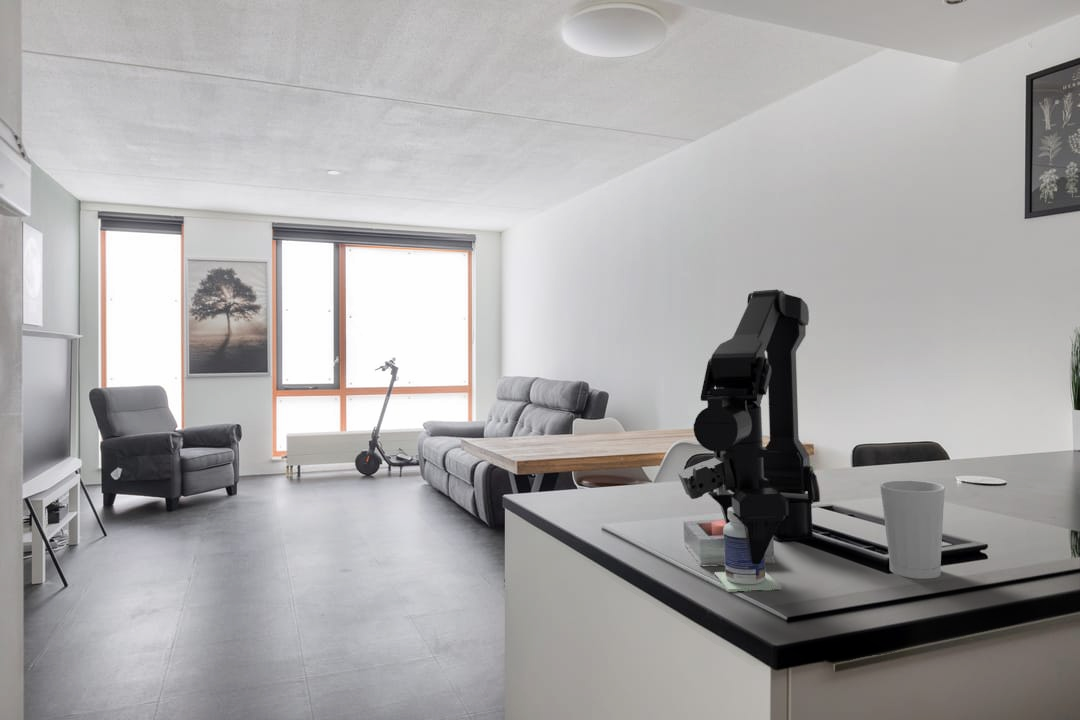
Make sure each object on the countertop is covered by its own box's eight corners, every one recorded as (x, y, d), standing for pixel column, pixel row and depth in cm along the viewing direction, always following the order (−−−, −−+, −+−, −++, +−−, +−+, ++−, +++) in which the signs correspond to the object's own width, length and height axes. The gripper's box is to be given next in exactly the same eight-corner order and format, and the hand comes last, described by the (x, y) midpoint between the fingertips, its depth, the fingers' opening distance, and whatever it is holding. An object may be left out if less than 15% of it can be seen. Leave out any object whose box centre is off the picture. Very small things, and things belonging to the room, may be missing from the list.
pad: (763, 572, 100) (763, 569, 100) (780, 589, 93) (780, 586, 93) (714, 575, 100) (714, 572, 100) (728, 592, 93) (728, 589, 93)
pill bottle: (768, 586, 94) (765, 513, 93) (726, 585, 95) (723, 513, 95) (763, 572, 99) (760, 504, 99) (724, 572, 100) (721, 504, 100)
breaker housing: (751, 542, 115) (750, 518, 115) (774, 562, 104) (773, 536, 104) (684, 545, 115) (683, 521, 115) (700, 566, 104) (699, 539, 104)
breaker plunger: (736, 540, 112) (735, 519, 112) (745, 548, 108) (744, 526, 108) (709, 541, 112) (708, 521, 112) (716, 549, 108) (715, 528, 107)
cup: (871, 564, 102) (868, 482, 101) (923, 560, 102) (921, 478, 102) (904, 582, 94) (901, 493, 94) (961, 578, 94) (958, 489, 94)
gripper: (668, 434, 106) (673, 537, 106) (698, 454, 87) (703, 578, 87) (742, 431, 106) (746, 534, 106) (787, 449, 87) (792, 574, 87)
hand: (745, 553), depth 97 cm, fingers open, 9 cm apart
